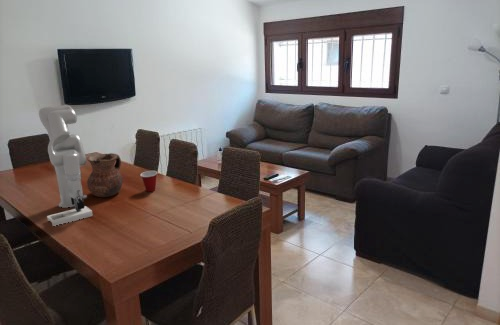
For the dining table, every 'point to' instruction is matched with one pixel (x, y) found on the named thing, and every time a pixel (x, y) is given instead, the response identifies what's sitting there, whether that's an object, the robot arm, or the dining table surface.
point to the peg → (76, 205)
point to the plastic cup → (149, 180)
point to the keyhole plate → (69, 216)
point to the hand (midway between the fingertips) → (78, 206)
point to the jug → (104, 175)
